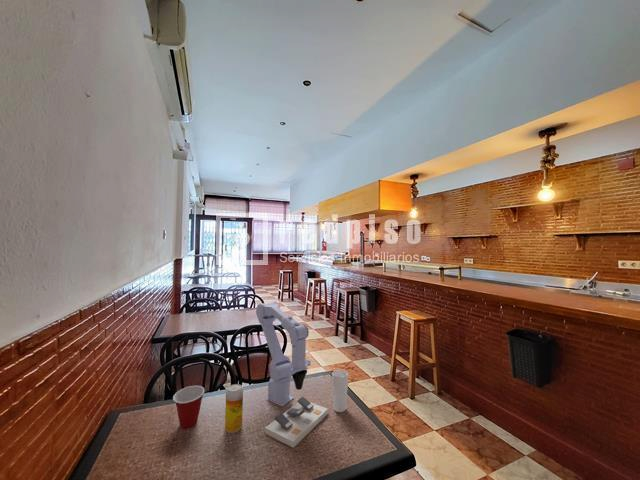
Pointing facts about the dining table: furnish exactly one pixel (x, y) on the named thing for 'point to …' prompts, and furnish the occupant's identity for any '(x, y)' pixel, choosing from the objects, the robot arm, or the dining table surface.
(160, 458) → the dining table surface
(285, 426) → the block
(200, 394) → the plastic cup
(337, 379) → the drinking glass
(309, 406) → the block
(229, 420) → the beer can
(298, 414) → the block
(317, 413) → the switch panel
